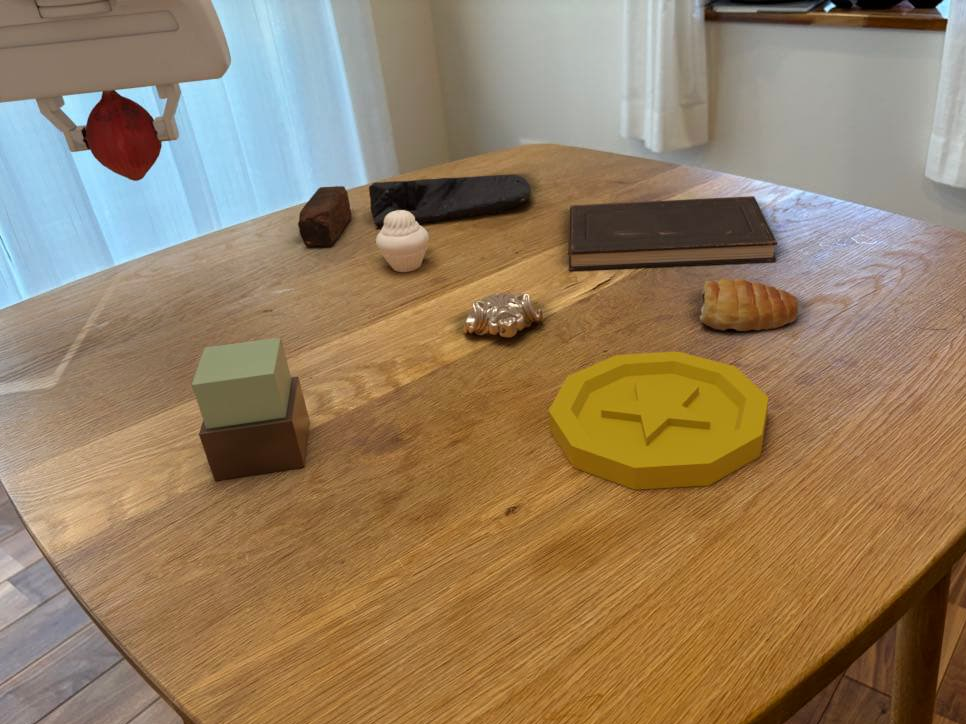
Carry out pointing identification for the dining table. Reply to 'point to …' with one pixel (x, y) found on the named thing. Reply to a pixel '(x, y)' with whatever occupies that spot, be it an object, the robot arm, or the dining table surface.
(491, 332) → the ornament
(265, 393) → the sage block
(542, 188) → the dining table surface
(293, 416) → the walnut block
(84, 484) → the dining table surface
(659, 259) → the hardcover book
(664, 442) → the decorative disc
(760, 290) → the pastry
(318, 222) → the dark brown bar
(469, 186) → the dark slate chunk
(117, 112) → the onion
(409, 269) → the cream cupcake
